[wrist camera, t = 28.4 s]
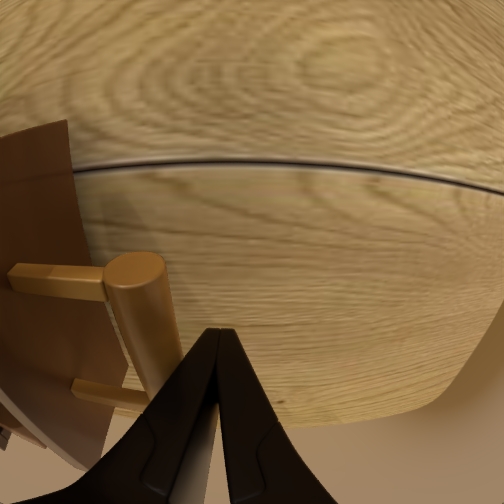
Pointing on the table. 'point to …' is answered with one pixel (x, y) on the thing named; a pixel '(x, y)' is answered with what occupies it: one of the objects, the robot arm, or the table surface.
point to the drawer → (70, 309)
